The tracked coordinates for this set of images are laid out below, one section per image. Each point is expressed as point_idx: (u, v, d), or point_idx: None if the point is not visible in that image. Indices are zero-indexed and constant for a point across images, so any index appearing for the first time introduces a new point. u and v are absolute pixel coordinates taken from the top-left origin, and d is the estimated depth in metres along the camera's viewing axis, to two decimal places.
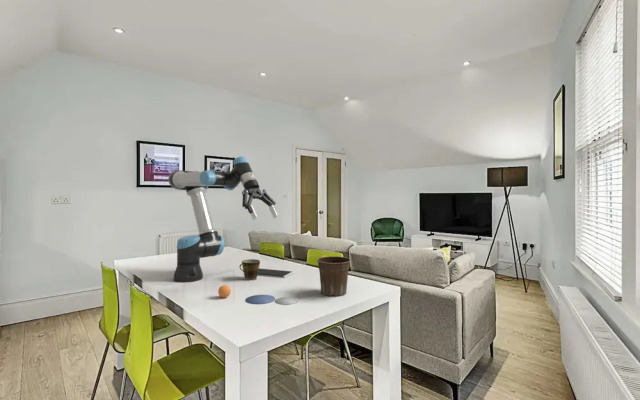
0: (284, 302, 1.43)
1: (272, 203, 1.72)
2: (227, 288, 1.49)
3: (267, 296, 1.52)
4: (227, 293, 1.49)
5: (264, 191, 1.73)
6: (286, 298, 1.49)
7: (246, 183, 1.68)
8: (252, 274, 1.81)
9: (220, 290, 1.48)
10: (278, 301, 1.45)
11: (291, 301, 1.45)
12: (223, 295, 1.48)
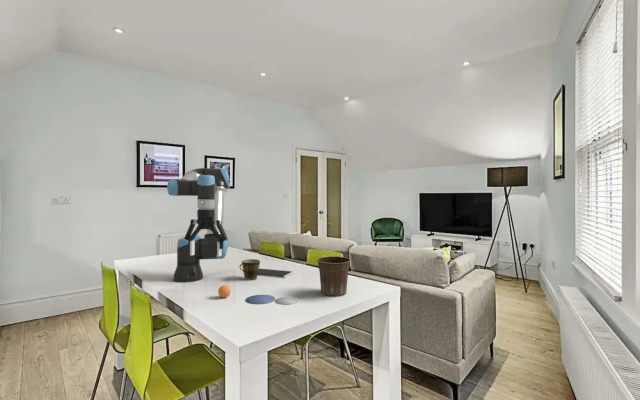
0: (284, 302, 1.43)
1: (219, 240, 1.50)
2: (227, 288, 1.49)
3: (267, 296, 1.52)
4: (227, 293, 1.49)
5: (217, 222, 1.50)
6: (286, 298, 1.49)
7: None
8: (252, 274, 1.81)
9: (220, 290, 1.48)
10: (278, 301, 1.45)
11: (291, 301, 1.45)
12: (223, 295, 1.48)
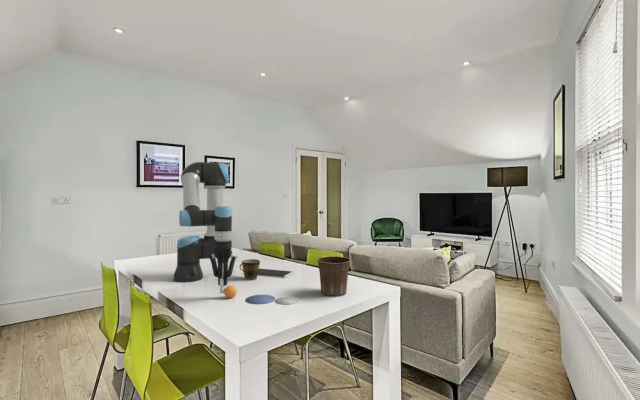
0: (284, 302, 1.43)
1: (224, 276, 1.48)
2: (234, 293, 1.49)
3: (267, 296, 1.52)
4: (231, 297, 1.48)
5: (232, 258, 1.48)
6: (286, 298, 1.49)
7: None
8: (252, 274, 1.81)
9: (228, 290, 1.47)
10: (278, 301, 1.45)
11: (291, 301, 1.45)
12: (227, 296, 1.48)
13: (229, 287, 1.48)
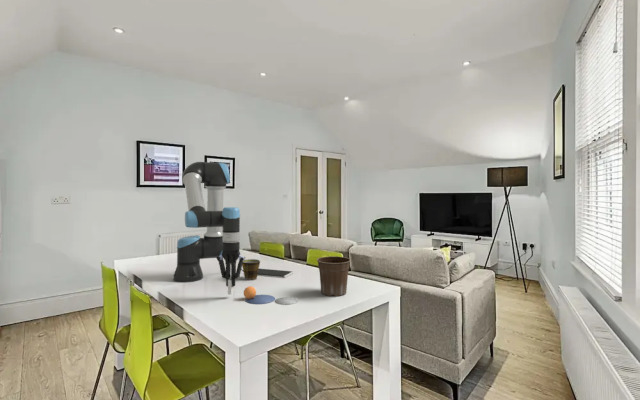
0: (284, 302, 1.43)
1: (232, 277, 1.48)
2: (244, 291, 1.48)
3: (267, 296, 1.52)
4: (247, 288, 1.47)
5: (240, 259, 1.48)
6: (286, 298, 1.49)
7: None
8: (252, 274, 1.81)
9: (247, 296, 1.46)
10: (278, 301, 1.45)
11: (291, 301, 1.45)
12: (249, 291, 1.46)
13: (247, 298, 1.47)
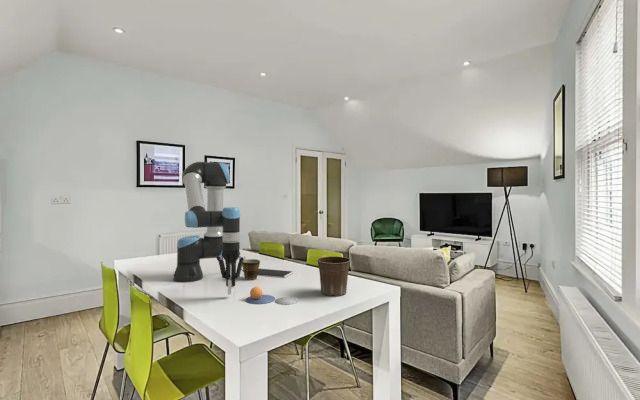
0: (284, 302, 1.43)
1: (232, 277, 1.48)
2: (254, 288, 1.47)
3: (267, 296, 1.52)
4: (258, 290, 1.46)
5: (240, 259, 1.48)
6: (286, 298, 1.49)
7: None
8: (252, 274, 1.81)
9: (251, 294, 1.46)
10: (278, 301, 1.45)
11: (291, 301, 1.45)
12: (257, 294, 1.46)
13: (250, 295, 1.47)
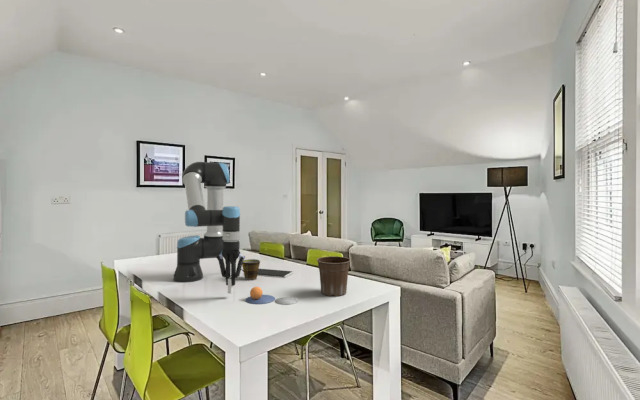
0: (284, 302, 1.43)
1: (232, 276, 1.49)
2: (254, 288, 1.47)
3: (267, 296, 1.52)
4: (258, 290, 1.46)
5: (240, 259, 1.48)
6: (286, 298, 1.49)
7: None
8: (252, 274, 1.81)
9: (251, 294, 1.46)
10: (278, 301, 1.45)
11: (291, 301, 1.45)
12: (257, 294, 1.46)
13: (250, 295, 1.47)
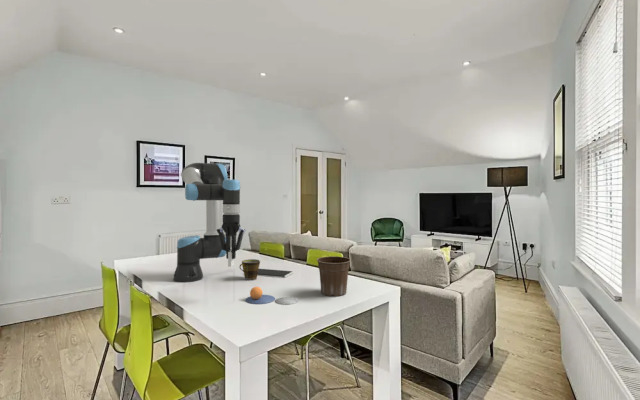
0: (284, 302, 1.43)
1: (232, 249, 1.48)
2: (254, 288, 1.47)
3: (267, 296, 1.52)
4: (258, 290, 1.46)
5: (240, 231, 1.48)
6: (286, 298, 1.49)
7: None
8: (252, 274, 1.81)
9: (251, 294, 1.46)
10: (278, 301, 1.45)
11: (291, 301, 1.45)
12: (257, 294, 1.46)
13: (250, 295, 1.47)
